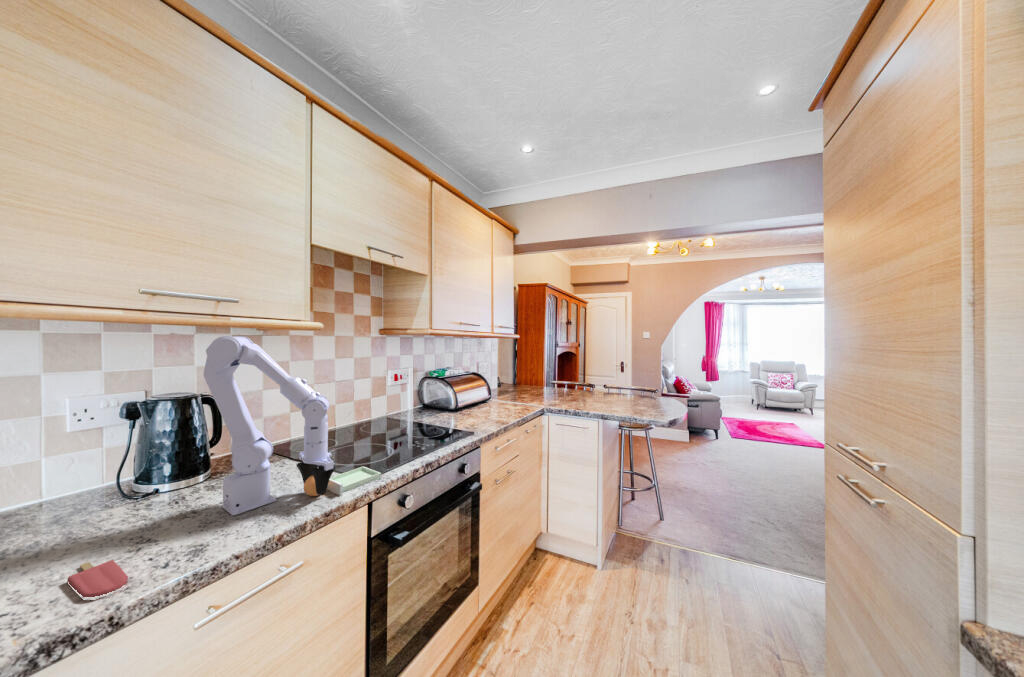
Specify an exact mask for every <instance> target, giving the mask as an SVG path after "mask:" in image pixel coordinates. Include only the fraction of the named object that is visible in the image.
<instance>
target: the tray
mask: <svg viewBox="0 0 1024 677" xmlns="http://www.w3.org/2000/svg"><path fill="white" fill-rule="evenodd" d="M381 478H382V472H380V471H377V470H375V469H371V468H369V467H366V466H360V467H357V468H354V469H351V470H349V471H346V472H342V473H339V474H336V475H333V476H331V477H330V479H332V480H334V481H337V482H339V483H341V484H343V493H345V492H347V491H348V492H349V491H351V490H353V489H355V488H359V487H360V486H364V485H367V484H368V483H370V482H373V481H376V480H379V479H381Z"/></svg>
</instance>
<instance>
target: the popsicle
mask: <svg viewBox="0 0 1024 677" xmlns="http://www.w3.org/2000/svg"><path fill="white" fill-rule="evenodd" d="M79 568H80V569H81V570H82V571H80V572H77V573H74V574H72V575H69V576H68V577H67V583H68V582H69V584H70V585H71V586H72V587H73V588H74V589H75V590H77V592H78V593H79V594H81V595H82V596H83V597H95V596H100V595H103V594H107V593H109V592H112V591H115V590H116V589H119V588H121V587H122V586H123V585H125V584H126V583H127V584H128V582H127V580H128V579H129V578H128V575H127V574H126V573H125V572H124V570H123V569H122V568H121V567H120V566H119V565H118V564H117V562H115V561H114V560H108V561H105V562H103V563H101V564H97V565H96V566H93V565H92V563H91V562H84V563H81V564H80V565H79ZM128 581H129V580H128ZM127 584H126V585H127Z"/></svg>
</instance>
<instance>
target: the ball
mask: <svg viewBox="0 0 1024 677" xmlns="http://www.w3.org/2000/svg"><path fill="white" fill-rule="evenodd" d="M303 492H304V493H305V495H308V496H309V497H316V496H319V495H318V494H317V492H316V486H315V480H314V477H313V475H312V476H310V477H309V478H308V479H307V480H306V481H305V483H304V482H303Z"/></svg>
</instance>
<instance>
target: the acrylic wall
mask: <svg viewBox="0 0 1024 677" xmlns="http://www.w3.org/2000/svg"><path fill="white" fill-rule="evenodd" d="M327 490H328V491H329V492H332V493H333V494H336V495H338V496H343V493H344V492H343V484H341V483H339V482H337V481H334V480H332V479H329V482H328V486H327ZM327 490H326V491H327Z"/></svg>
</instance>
